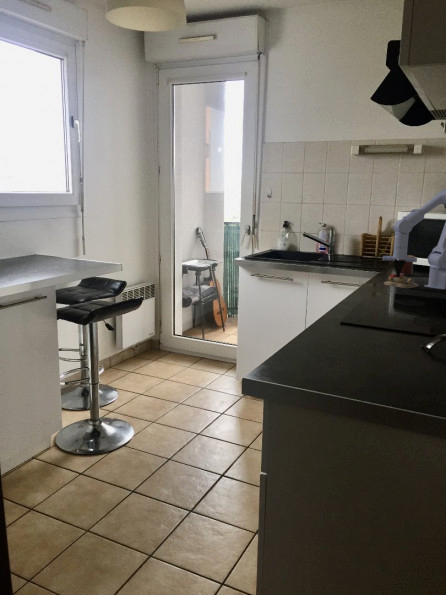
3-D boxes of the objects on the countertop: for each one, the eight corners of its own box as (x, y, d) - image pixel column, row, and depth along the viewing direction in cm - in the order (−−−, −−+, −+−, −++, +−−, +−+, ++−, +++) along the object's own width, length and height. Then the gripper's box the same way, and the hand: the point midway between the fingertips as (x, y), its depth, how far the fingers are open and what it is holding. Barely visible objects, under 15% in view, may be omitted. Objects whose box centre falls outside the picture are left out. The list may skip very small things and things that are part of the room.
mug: (417, 276, 261) (418, 256, 258) (404, 277, 257) (406, 257, 255) (400, 272, 271) (401, 254, 269) (387, 273, 268) (389, 254, 266)
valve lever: (401, 275, 232) (401, 272, 232) (404, 276, 231) (405, 273, 231) (389, 277, 227) (390, 274, 227) (393, 277, 225) (394, 274, 225)
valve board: (418, 286, 230) (418, 277, 229) (407, 288, 225) (408, 279, 224) (394, 282, 239) (395, 274, 238) (384, 284, 234) (384, 275, 233)
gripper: (418, 247, 223) (415, 277, 226) (384, 245, 229) (382, 274, 232) (417, 248, 217) (414, 279, 220) (383, 246, 222) (380, 276, 225)
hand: (398, 277), depth 225 cm, fingers closed
